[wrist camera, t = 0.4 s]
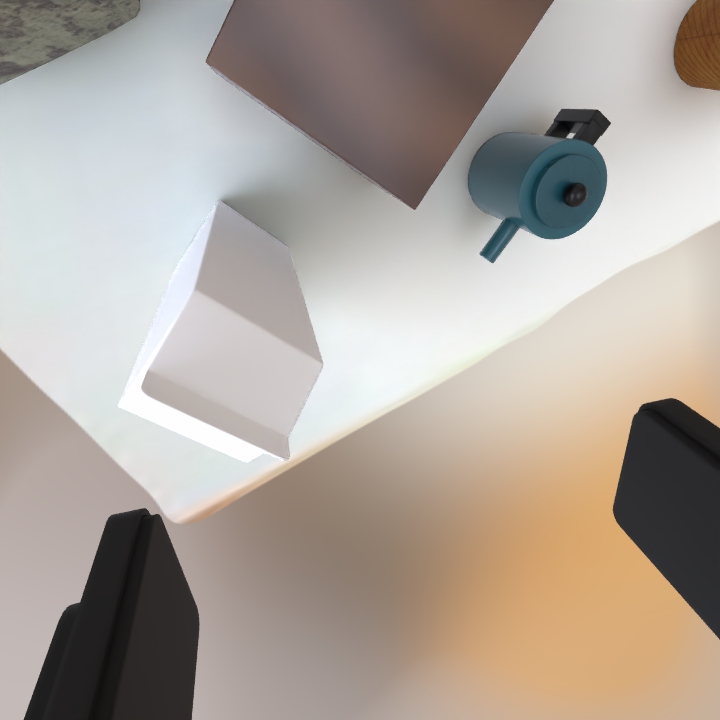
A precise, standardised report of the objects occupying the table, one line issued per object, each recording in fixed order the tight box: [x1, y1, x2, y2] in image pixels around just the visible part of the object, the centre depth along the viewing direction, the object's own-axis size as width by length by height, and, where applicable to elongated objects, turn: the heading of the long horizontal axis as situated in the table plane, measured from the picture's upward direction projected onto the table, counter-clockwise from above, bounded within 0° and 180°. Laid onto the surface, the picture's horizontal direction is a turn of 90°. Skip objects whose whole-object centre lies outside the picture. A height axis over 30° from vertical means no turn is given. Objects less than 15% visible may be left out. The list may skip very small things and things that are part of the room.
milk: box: [118, 200, 323, 462], centre depth 27 cm, size 6×6×22 cm
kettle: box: [468, 109, 611, 263], centre depth 33 cm, size 11×6×10 cm, turn 147°
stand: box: [206, 0, 554, 210], centre depth 27 cm, size 14×13×10 cm
